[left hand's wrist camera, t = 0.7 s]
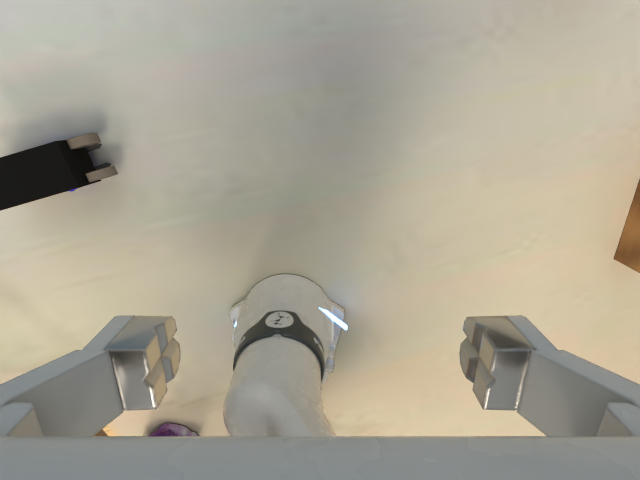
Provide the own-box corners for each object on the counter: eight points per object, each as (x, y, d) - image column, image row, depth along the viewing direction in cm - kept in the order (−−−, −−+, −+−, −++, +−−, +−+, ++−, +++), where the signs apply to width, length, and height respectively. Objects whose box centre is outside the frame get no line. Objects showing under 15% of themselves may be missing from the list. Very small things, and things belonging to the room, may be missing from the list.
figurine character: (109, 125, 51) (7, 158, 51) (82, 127, 44) (-37, 165, 44) (132, 171, 54) (33, 202, 54) (109, 180, 47) (-4, 216, 46)
